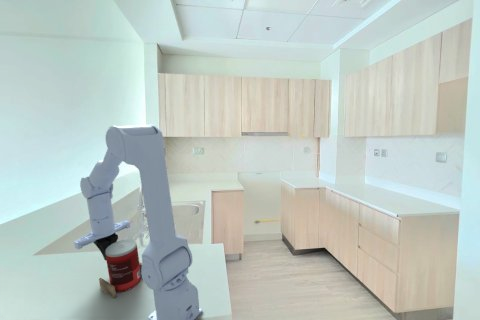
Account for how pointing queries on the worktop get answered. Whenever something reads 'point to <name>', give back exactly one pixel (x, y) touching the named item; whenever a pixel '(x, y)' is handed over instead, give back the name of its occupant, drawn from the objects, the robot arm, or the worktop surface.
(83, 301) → the worktop surface
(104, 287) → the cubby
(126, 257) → the canned food
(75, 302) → the worktop surface
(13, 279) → the worktop surface
